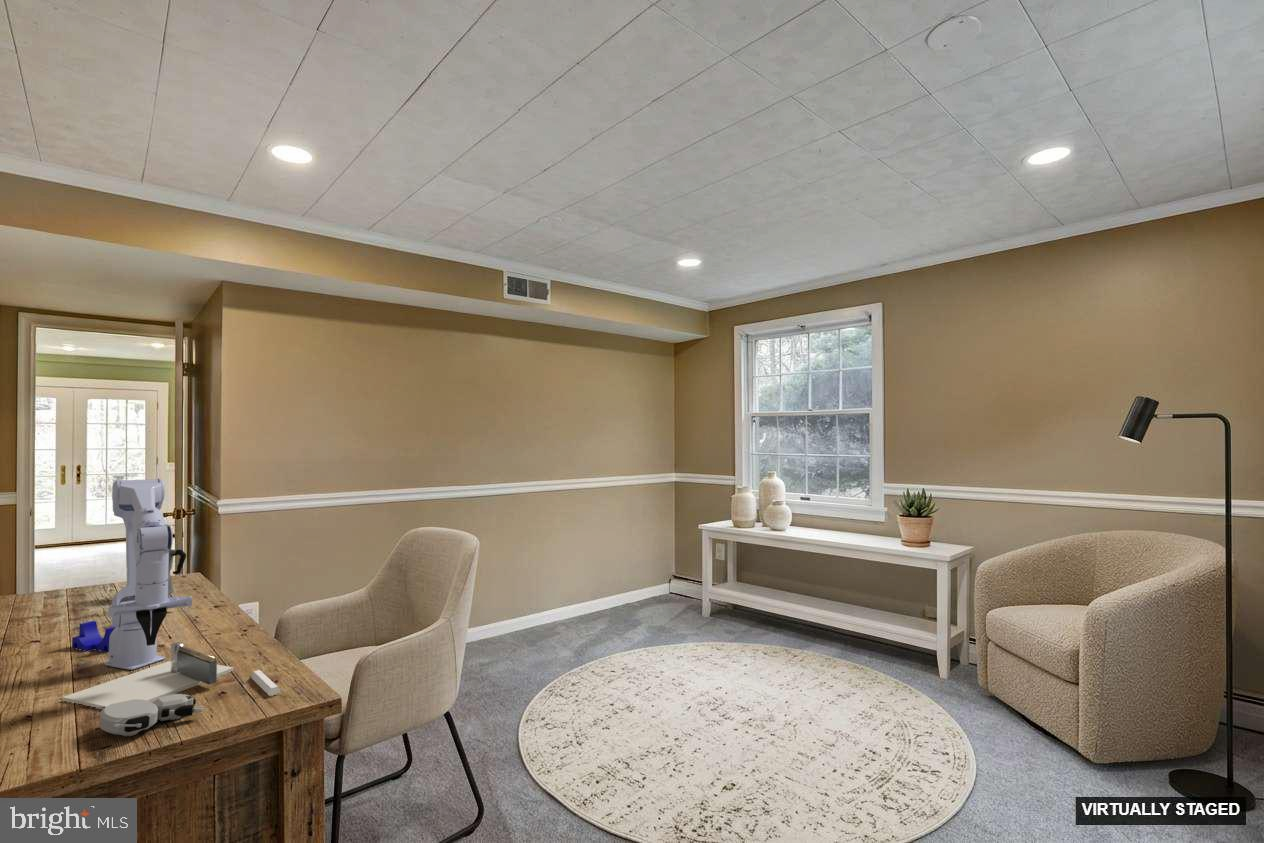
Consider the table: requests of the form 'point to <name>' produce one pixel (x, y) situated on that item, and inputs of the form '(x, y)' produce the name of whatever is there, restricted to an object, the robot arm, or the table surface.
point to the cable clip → (91, 637)
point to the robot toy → (145, 713)
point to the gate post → (175, 656)
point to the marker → (265, 683)
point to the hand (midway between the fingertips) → (150, 644)
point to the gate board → (139, 686)
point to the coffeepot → (179, 567)
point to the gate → (197, 665)
